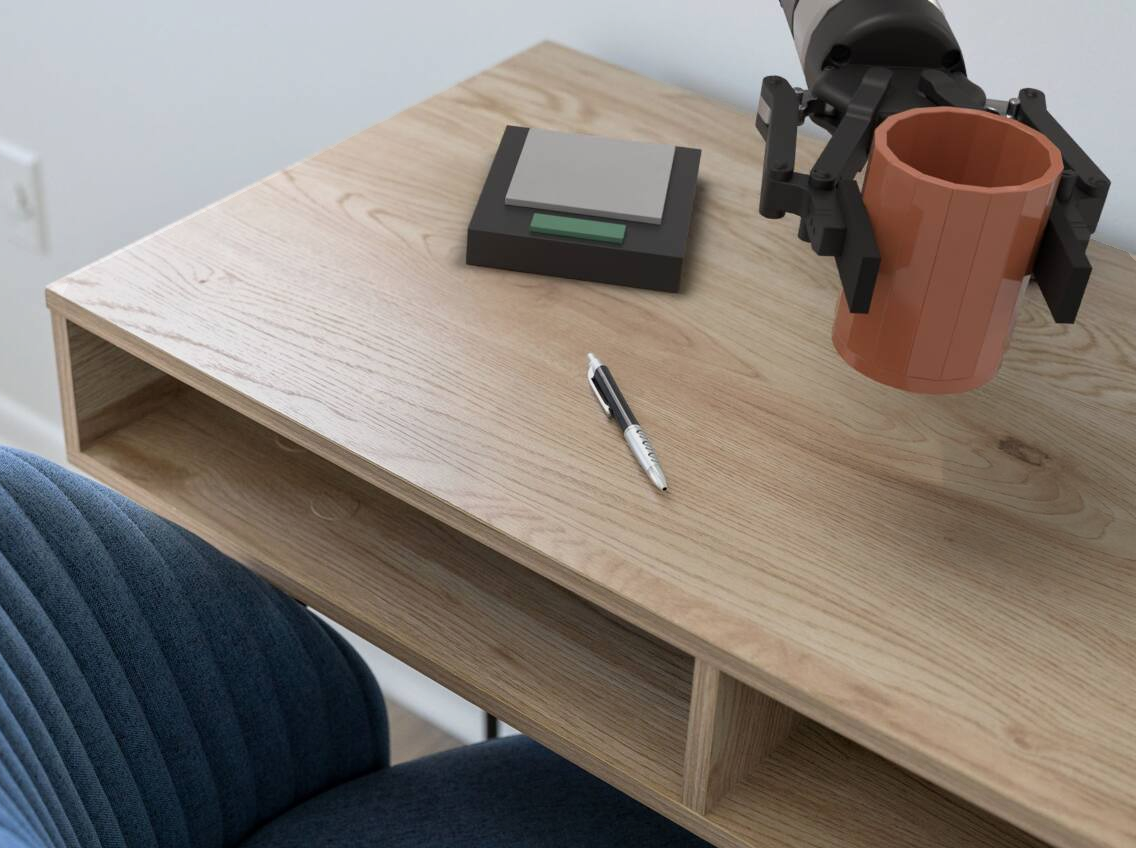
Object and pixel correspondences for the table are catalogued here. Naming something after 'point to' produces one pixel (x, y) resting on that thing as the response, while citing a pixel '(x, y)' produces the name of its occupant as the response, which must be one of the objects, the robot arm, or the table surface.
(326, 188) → the table surface
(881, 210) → the cup
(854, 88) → the robot arm
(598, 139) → the scale
